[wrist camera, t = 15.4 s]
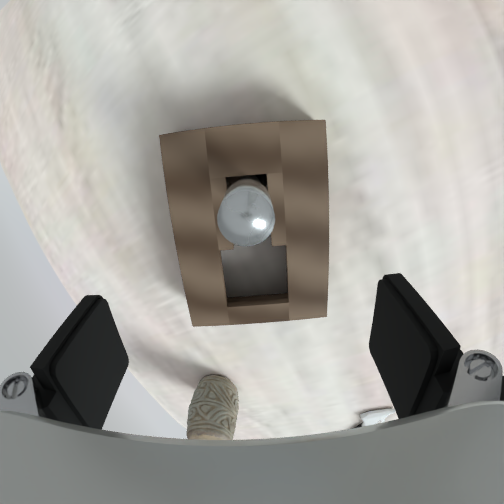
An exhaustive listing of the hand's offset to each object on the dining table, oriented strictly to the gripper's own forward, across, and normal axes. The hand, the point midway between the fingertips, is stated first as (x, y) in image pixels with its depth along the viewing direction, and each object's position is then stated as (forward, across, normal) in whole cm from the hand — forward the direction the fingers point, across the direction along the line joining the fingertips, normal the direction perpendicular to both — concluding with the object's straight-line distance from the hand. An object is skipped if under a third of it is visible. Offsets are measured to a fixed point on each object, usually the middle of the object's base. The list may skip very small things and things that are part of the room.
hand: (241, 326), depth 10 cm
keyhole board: (+26, 0, +4) cm, 27 cm away
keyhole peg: (+26, 0, 0) cm, 26 cm away
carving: (+26, +8, +31) cm, 42 cm away
